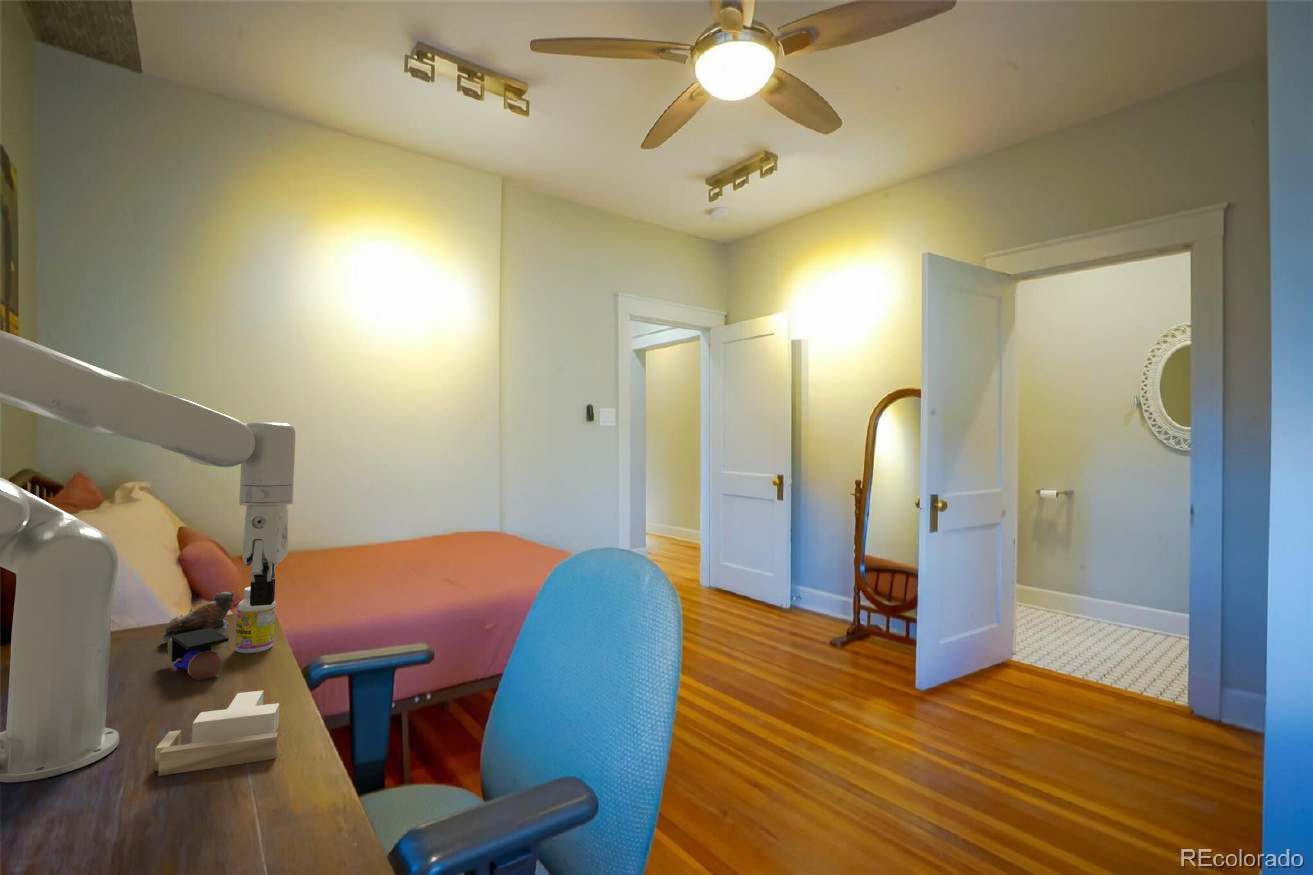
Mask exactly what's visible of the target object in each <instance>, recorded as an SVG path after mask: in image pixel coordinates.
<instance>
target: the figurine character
mask: <svg viewBox="0 0 1313 875" xmlns="http://www.w3.org/2000/svg"><path fill="white" fill-rule="evenodd" d="M228 642H229V637H227V636H226V635H222V634H220V633H219V632H217V631H215V630H213V629H212V628H207V629H202V630H197V631H192V632H187V633H182V634H178V635H173V636H172V638H171V639H169V640H168V642H167V652H168V656H169V657H170V658H171V663H173V667H174V668H180V669H181V668H182V669H184V670H186V669H187V673H188V674H189V676H190V677H191V678H193V679H195V680H199V681H200V680H201V681H202V680H203V681H204V680H208V679H212V678H213V677H214V676H216V675H217V674H218V673H219V672H220V671H221V669H222V667H223V662H224V660H223V657H222V655H221V654H220V653H219V652H217V651H214V650H212V646H214V645H219V644H222V643H228Z"/></svg>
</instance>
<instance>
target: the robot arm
mask: <svg viewBox="0 0 1313 875" xmlns="http://www.w3.org/2000/svg"><path fill="white" fill-rule="evenodd" d="M0 403H2V404H6V405H9V406H12V407H15V408H18V409H22V410H25V411H28V412H30V413H31V412H32V413H34V414H37V415H40V416H44V417H47V418H49V419H52V420H56V421H58V422H61V423H65V424H67V425H72V426H74V427H77V428H80V429H83V430H85V431H86V430H87V431H89V432H94V433H98V434H101V435H106V436H109V437H110V436H111V437H117V438H122V439H123V438H124V439H128V440H133V441H136V442H140V443H144V444H147V445H152V446H154V447H158V448H161V449H164V450H168V451H170V452H174V453H176V454H177V453H178V454H180V455H183V456H184V457H186V459H188V460H190V461H191V462H194V463H196V464H199V465H203V466H210V467H216V468H217V467H218V468H231V467H235V466H238V465H240V479H239V480H240V483H239V498H238V499H239V500H238V501H239V502H238V504H239V506H243V507H244V506H245V507H246V509H245V517H244V525H243V526H244V527H243V542H242V544H243V545H242V546H243V547H242V563H243V565H245V566H246V567H249V566H251V568H250V569H251V570H250V571H251V572H250V576H251V577H250V578H251V579H250V586H251V588H250V605H251V606H262V605H271V604H272V603H273V602H274V600H275V599H276V597H275V596H276V594H275V593H276V566H277V565H279V564H280V563H282V561H283V560H284V559H286V558H287V557H288V553H289V515H288V513H289V511H288V505H292V504H294V503H293V502H294V500H293V499H294V480H295V476H294V475H295V459H296V458H295V457H296V455H295V453H296V430H295V428H294V427H293V425H291V424H289V423H285V422H284V423H282V422H271V421H270V422H266V421H263V422H261V421H255V422H253V421H252V422H249V423H243V422H242V421H241V420H238V419H236V418H233V417H231V416H229V415H227V414H223V413H221V412H219V411H216V410H213V409H211V408H208V407H205V406H204V405H200V404H197V403H195V402H193V401H190V400H187V399H184V398H181V397H179V396H176V395H173V394H171V393H167V392H164V391H162V390H159V389H156V388H153V387H151V386H148V385H146V384H143V383H142V382H138V381H135V380H133V379H130V378H127V377H124V376H122V375H119V374H117V373H113V372H111V371H108V370H106V369H103V368H101V367H97V366H96V365H93V364H90V363H87V362H85V361H83V360H80V359H77V358H74V357H72V356H69V355H66V354H65V353H61V352H59V351H56V350H54V349H51V348H48V347H47V346H45V345H41V344H38V343H37V342H34V341H32V340H28V339H27V338H26V339H25V338H23V337H22V336H21V337H20V336H18V335H16V334H13V333H9V332H6V331H3V330H0ZM0 567H1V568H3V569H4V570H5V569H6V570H8V571H10V572H12V573H14V574H15V577H16V580H15V581H16V582H15V583H16V584H15V597H14V605H13V616H12V617H13V618H12V627H11V638H10V640H11V641H10V642H11V643H10V664H9V681H8V696H7V714H6V727H5V730H3V731H0V783H23V782H31V781H37V780H42V779H47V778H50V777H55V776H58V775H61V774H65V773H68V772H72V771H75V770H78V769H80V768H83V767H87V766H88V765H90V764H93V763H95V762H96V761H99V760H101V759H102V758H104V757H105V756H108V755H109V754H110V753H112V752H113V751H114V750H115V748H116V749H117V747H118V745H119V743H120V733H119V731H117V730H116V729H114V728H109V727H106V720H107V719H106V717H107V702H108V701H107V700H108V699H107V698H108V684H109V668H110V666H109V665H110V664H109V663H110V651H111V650H110V649H111V648H110V647H111V630H112V629H111V628H112V626H111V625H112V616H113V615H112V613H113V602H114V597H115V596H114V595H115V590H116V586H117V585H116V584H117V579H118V571H119V557H118V551H117V549H116V546H115V544H114V542H113V541H112V540H111V538H109V536H107V535H106V533H104V532H102V531H101V530H99V528H98V529H97V528H96V527H94V526H92V525H90V524H88V523H87V522H85V521H84V520H81V519H79V518H78V517H76V516H73V515H72V514H70V513H68V512H66V511H65V510H62V509H60V508H59V507H58V506H57V507H56V505H54V504H51V503H49V502H47V500H44V499H42V498H40V497H38V496H36V495H35V494H33V493H30V492H29V491H27V490H25V489H23V488H22V487H20V486H18V485H17V484H15V483H13V482H10V481H9V480H8V479H5V478H3V477H0Z"/></svg>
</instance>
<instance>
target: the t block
mask: <svg viewBox="0 0 1313 875" xmlns="http://www.w3.org/2000/svg"><path fill="white" fill-rule="evenodd" d="M264 691H265V690H256V691H255V690H254V691H253V690H252V691H246V692H237V694H236V695H235V696H234V699H232V701H231V702H230V704H229V706H228V707H227V708H226V709H217V710H209V711H201V712H200V713H199V714H198V716H196V718H195V719H194V721H193V722H192V726H191V728H192V731H191V744H192V743H199V742H207V741H214V740H222V739H229V738H237V737H244V736H252V735H260V734H267V733H275V732H277V730H278V727H279V723H280V720H279V719H280V705H281V704H280V702H277V703H270V704H269V703H268V704H264V693H265V692H264Z"/></svg>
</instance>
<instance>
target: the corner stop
mask: <svg viewBox="0 0 1313 875" xmlns="http://www.w3.org/2000/svg"><path fill="white" fill-rule="evenodd" d="M279 733H280V732H279V731H276V732H275V733H267V734H260V735H252V736H244V737H237V738H229V739H222V740H214V741H207V742H199V743H192V742H191V743H186V744H182V742H181V741H182V729H181V730H173V731H168V732H167V733H166V735H165V736H164V737H163V739H161V741H160V742H159V743H158V744H157V746H156V747H155V753H154V770H153V771H154V772H157V771H158V777H159V776H168V775H174V774H179V773H180V774H181V773H185V772H186V773H187V772H195V771H200V770H208V769H215V768H222V767H227V766H236V765H241V764H249V763H256V762H261V761H262V762H263V761H270V760H275V759H276V758H277V756H276V755H278V754H279V753H278V752H279V751H278V749H279Z"/></svg>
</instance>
